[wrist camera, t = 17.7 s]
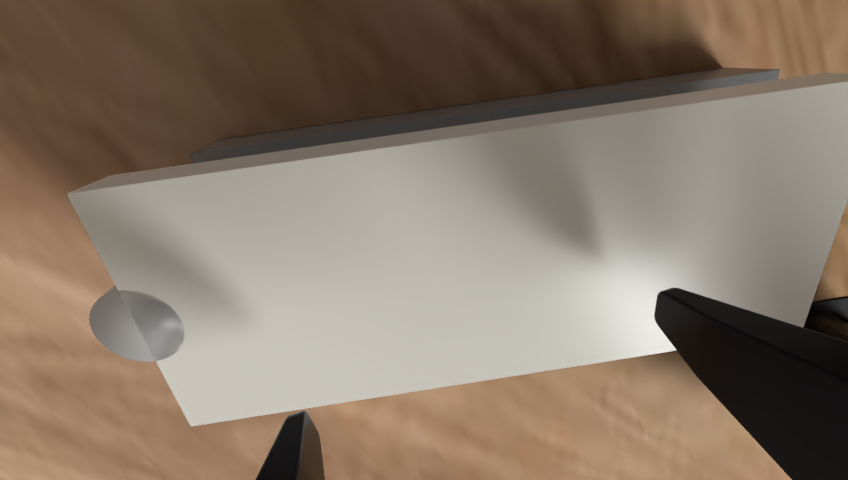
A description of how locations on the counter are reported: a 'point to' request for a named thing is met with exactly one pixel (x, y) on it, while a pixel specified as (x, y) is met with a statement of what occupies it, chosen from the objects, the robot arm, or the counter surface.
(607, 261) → the duct lid
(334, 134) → the duct
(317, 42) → the counter surface
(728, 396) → the robot arm
